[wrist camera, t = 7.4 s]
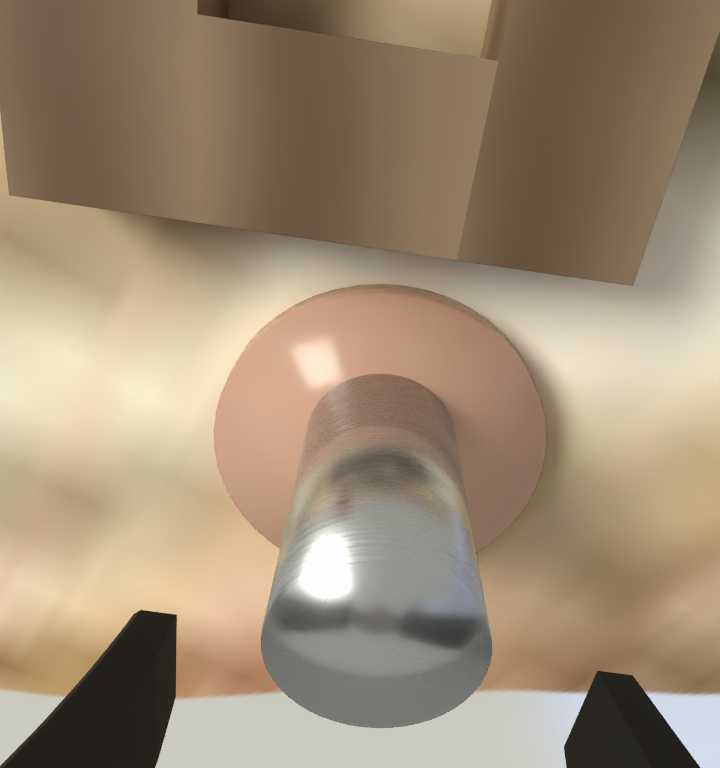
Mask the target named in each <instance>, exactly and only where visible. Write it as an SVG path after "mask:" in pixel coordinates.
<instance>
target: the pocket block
mask: <svg viewBox="0 0 720 768" xmlns="http://www.w3.org/2000/svg"><path fill="white" fill-rule="evenodd" d="M719 32H720V0H492V5H491V10H490V15H489V20H488V25H487V30H486V35H485V40H484V45H483V50H482V56H481V58H476V57H470V56H463V55H457V54H450V53H444V52H437V51H431V50H424V49H418V48H411V47H405V46H399V45H392V44H386V43H379V42H373V41H366V40H360V39H353V38H347V37H341V36H334V35H328V34H321V33H315V32H308V31H302V30H295V29H289V28H282V27H276V26H270V25H263V24H257V23H250V22H244V21H237V20H231V19H228V0H0V112H1V121H2V131H3V141H4V150H5V160H6V170H7V179H8V189H9V195H11V196H18V197H25V198H32V199H39V200H45V201H52V202H59V203H66V204H73V205H80V206H87V207H94V208H100V209H107V210H114V211H121V212H128V213H135V214H142V215H148V216H155V217H162V218H169V219H176V220H183V221H190V222H197V223H203V224H210V225H217V226H224V227H231V228H238V229H245V230H252V231H258V232H265V233H272V234H279V235H286V236H293V237H300V238H307V239H313V240H320V241H327V242H334V243H341V244H348V245H355V246H361V247H368V248H375V249H382V250H389V251H396V252H403V253H410V254H416V255H423V256H430V257H437V258H444V259H451V260H458V261H465V262H471V263H478V264H485V265H492V266H499V267H506V268H513V269H520V270H526V271H533V272H540V273H547V274H554V275H561V276H568V277H574V278H581V279H588V280H595V281H602V282H609V283H616V284H623V285H629V286H633V284H634V281H635V278H636V275H637V272H638V269H639V266H640V264H641V261H642V258H643V255H644V252H645V249H646V246H647V243H648V240H649V237H650V234H651V231H652V228H653V225H654V222H655V220H656V217H657V214H658V211H659V208H660V205H661V202H662V199H663V196H664V193H665V190H666V187H667V184H668V181H669V178H670V176H671V173H672V170H673V167H674V164H675V161H676V158H677V155H678V152H679V149H680V146H681V143H682V140H683V137H684V134H685V132H686V129H687V126H688V123H689V120H690V117H691V114H692V111H693V108H694V105H695V102H696V99H697V96H698V93H699V91H700V88H701V85H702V82H703V79H704V76H705V73H706V70H707V67H708V64H709V61H710V58H711V55H712V52H713V49H714V47H715V44H716V41H717V38H718V35H719Z"/></svg>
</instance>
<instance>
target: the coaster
mask: <svg viewBox="0 0 720 768" xmlns="http://www.w3.org/2000/svg"><path fill="white" fill-rule="evenodd" d="M368 374H392V375H398V376H402V377H405V378H409V379H411V380H413V381H416V382H418V383H420V384H422V385H423V386H425V387H427V388H428V389H429V390H430V391H432V392H433V393H434V394H435V395H436V396H437V397H438V398H439V399H440V400H441V401H442V402H443V404H444V405H445V407H446V408H447V410H448V412H449V414H450V416H451V418H452V421H453V424H454V430H455V436H456V441H457V447H458V453H459V458H460V464H461V470H462V475H463V481H464V487H465V492H466V498H467V504H468V509H469V515H470V521H471V526H472V532H473V538H474V544H475V549H476V552H478V551H480V550H481V549H483V548H485V547H486V546H487V545H489V544H490V543H491V542H493V541H494V540H495V539H496V538H498V537H499V536H500V535H501V534H502V533H503V532H504V531H505V530H506V529H507V528H508V527H509V526H510V525H511V524H512V523H513V522H514V521H515V520H516V518H517V517H518V516H519V515H520V513H521V512H522V511H523V509H524V508H525V507H526V505H527V503H528V501H529V500H530V498H531V496H532V494H533V493H534V491H535V488H536V486H537V483H538V481H539V478H540V476H541V472H542V468H543V464H544V460H545V453H546V440H547V435H546V422H545V416H544V411H543V407H542V403H541V399H540V397H539V394H538V392H537V390H536V387H535V385H534V382H533V380H532V378H531V376H530V373H529V371H528V369H527V367H526V365H525V364H524V362H523V360H522V359H521V357H520V355H519V354H518V352H517V351H516V349H515V348H514V347H513V346H512V345H511V343H510V342H509V341H508V340H507V338H506V337H505V336H504V335H503V334H502V333H501V332H500V331H499V330H498V329H497V328H495V327H494V326H493V325H492V324H491V323H490V322H489V321H488V320H486V319H485V318H483V317H482V316H480V315H479V314H477V313H476V312H474V311H473V310H472V309H470V308H468V307H466V306H464V305H462V304H460V303H458V302H456V301H454V300H452V299H450V298H448V297H445V296H442V295H439V294H436V293H433V292H430V291H427V290H422V289H417V288H412V287H408V286H399V285H386V284H376V285H358V286H352V287H346V288H341V289H335V290H332V291H329V292H326V293H323V294H319V295H316V296H313V297H311V298H309V299H307V300H305V301H303V302H300V303H298V304H296V305H294V306H292V307H291V308H289V309H288V310H286V311H285V312H283V313H281V314H280V315H278V316H277V317H275V318H274V319H273V320H272V321H271V322H269V323H268V324H267V325H266V326H265V327H264V328H262V329H261V330H260V331H259V332H258V333H257V335H256V336H255V337H254V338H253V339H252V340H251V341H250V342H249V344H248V345H247V346H246V347H245V349H244V350H243V352H242V354H241V355H240V357H239V358H238V360H237V361H236V363H235V365H234V367H233V369H232V371H231V373H230V375H229V377H228V379H227V382H226V384H225V386H224V388H223V390H222V393H221V396H220V400H219V403H218V407H217V410H216V417H215V425H214V447H215V453H216V459H217V464H218V468H219V471H220V474H221V477H222V480H223V483H224V485H225V487H226V489H227V491H228V493H229V495H230V497H231V499H232V500H233V502H234V503H235V505H236V506H237V508H238V509H239V511H240V512H241V513H242V515H243V516H244V517H245V518H246V519H247V520H248V522H249V523H250V524H251V525H252V526H253V527H254V528H255V529H256V530H257V531H258V532H259V533H260V534H262V535H263V536H264V537H265V538H266V539H267V540H268V541H270V542H271V543H273V544H274V545H276V546H277V547H279V548H281V543H282V539H283V534H284V530H285V525H286V521H287V516H288V512H289V507H290V503H291V498H292V494H293V489H294V485H295V480H296V476H297V471H298V467H299V462H300V458H301V453H302V449H303V444H304V440H305V435H306V431H307V426H308V422H309V419H310V416H311V414H312V412H313V410H314V408H315V407H316V405H317V404H318V402H319V401H320V400H321V399H322V398H323V397H324V395H325V394H326V393H328V392H329V391H330V390H331V389H333V388H334V387H336V386H337V385H339V384H341V383H343V382H345V381H347V380H349V379H352V378H355V377H358V376H363V375H368Z"/></svg>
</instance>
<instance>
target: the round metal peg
mask: <svg viewBox="0 0 720 768" xmlns="http://www.w3.org/2000/svg"><path fill="white" fill-rule="evenodd" d="M261 651H262V656H263V660H264V663H265V665H266V668H267V670H268V672H269V674H270V675H271V677H272V679H273V680H274V682H275V683H276V684H277V685H278V687H279V688H280V689H281V690H282V691H283V692H284V693H285V694H286V695H287V696H288V697H289V698H291V699H292V700H293V701H295V702H296V703H298V704H299V705H300V706H302V707H304V708H305V709H307V710H309V711H310V712H313V713H315V714H317V715H319V716H321V717H324V718H327V719H329V720H333V721H335V722H339V723H343V724H347V725H353V726H360V727H370V728H392V727H402V726H408V725H413V724H418V723H421V722H424V721H428V720H431V719H433V718H436V717H438V716H441V715H443V714H445V713H447V712H449V711H450V710H452V709H454V708H455V707H457V706H458V705H460V704H461V703H463V702H464V701H465V700H466V699H467V698H468V697H469V696H471V695H472V694H473V693H474V692H475V690H476V689H477V688H478V687H479V685H480V684H481V682H482V681H483V679H484V677H485V676H486V674H487V671H488V668H489V666H490V662H491V656H492V640H491V634H490V629H489V623H488V617H487V612H486V606H485V600H484V595H483V589H482V583H481V578H480V572H479V566H478V561H477V555H476V549H475V544H474V538H473V532H472V526H471V521H470V515H469V509H468V504H467V498H466V492H465V487H464V481H463V475H462V470H461V464H460V458H459V453H458V447H457V441H456V436H455V430H454V424H453V421H452V418H451V416H450V414H449V412H448V410H447V408H446V407H445V405H444V404H443V402H442V401H441V400H440V399H439V398H438V397H437V396H436V395H435V394H434V393H433V392H432V391H430V390H429V389H428V388H427V387H425V386H423V385H422V384H420V383H418V382H416V381H413V380H411V379H409V378H405V377H402V376H398V375H392V374H368V375H363V376H358V377H355V378H352V379H349V380H347V381H345V382H343V383H341V384H339V385H337V386H336V387H334V388H333V389H331V390H330V391H329V392H328V393H326V394H325V395H324V397H323V398H322V399H321V400H320V401H319V402H318V404H317V405H316V407H315V408H314V410H313V412H312V414H311V416H310V419H309V422H308V426H307V431H306V435H305V440H304V444H303V449H302V453H301V458H300V462H299V467H298V471H297V476H296V480H295V485H294V489H293V494H292V498H291V503H290V507H289V512H288V516H287V521H286V525H285V530H284V534H283V539H282V543H281V548H280V552H279V557H278V561H277V566H276V570H275V575H274V579H273V584H272V588H271V592H270V597H269V601H268V606H267V610H266V615H265V619H264V624H263V629H262V635H261Z"/></svg>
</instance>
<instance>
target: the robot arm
mask: <svg viewBox="0 0 720 768" xmlns="http://www.w3.org/2000/svg"><path fill="white" fill-rule="evenodd" d="M176 625H177V615H174V614H166V613H158V612H151V611H143V610H140V611H138V612H137V613H135V614H134V615H133V616H132V618H131V619H130V620H129V622H128V623H127V624H126V625H125V627H124V628H123V629H122V631H121V632H120V633H119V634H118V636H117V637H116V638H115V640H114V641H113V642H112V643H111V645H110V646H109V647H108V648H107V650H106V651H105V652H104V653H103V654H102V656H101V657H100V658H99V659H98V660H97V662H96V663H95V664H94V665H93V666H92V668H91V669H90V670H89V671H88V672H87V673H86V675H85V676H84V677H83V678H82V679H81V680H80V682H79V683H78V684H77V685H76V686H75V687H74V688H73V689H72V691H71V692H70V693H69V694H68V695H67V696H66V697H65V698H64V699H63V701H62V702H61V703H60V704H59V705H58V706H57V707H56V708H55V710H54V711H53V712H52V713H51V714H50V715H49V716H48V717H47V719H45V721H44V722H43V723H42V724H41V725H40V726H39V727H38V728H37V729H36V730H35V731H34V732H33V733H32V734H31V735H30V736H29V737H28V738H27V739H26V740H25V741H24V742H23V743H22V744H21V745H20V746H19V747H18V749H16V751H15V752H14V753H13V754H12V755H11V756H10V757H9V758H8V759H7V760H6V761H5V762H4V763H3V764H2V765H1V766H0V768H155V766H156V763H157V761H158V757H159V754H160V750H161V747H162V743H163V740H164V736H165V733H166V729H167V726H168V722H169V719H170V715H171V711H172V707H173V704H174V700H175V697H176ZM564 750H565V758H566V765H567V768H700V767H699V765H698V764H697V763H696V761H695V760H694V759H693V757H692V756H691V755H690V753H689V752H688V750H687V749H686V748H685V746H684V745H683V744H682V743H681V741H680V740H679V738H678V737H677V735H676V734H675V733H674V731H673V730H672V729H671V727H670V726H669V725H668V723H667V722H666V720H665V719H664V718H663V716H662V715H661V714H660V712H659V711H658V709H657V708H656V707H655V705H654V704H653V703H652V701H651V700H650V698H649V697H648V696H647V694H646V693H645V692H644V690H643V689H642V687H641V686H640V685H639V683H638V682H637V681H636V679H635V678H634V677H633V675H625V674H617V673H610V672H602V671H597V673H596V675H595V678H594V680H593V682H592V684H591V687H590V689H589V691H588V694H587V696H586V698H585V700H584V703H583V705H582V707H581V710H580V712H579V715H578V716H577V719H576V721H575V723H574V725H573V728H572V730H571V732H570V735H569V737H568V739H567V741H566V744H565V746H564Z"/></svg>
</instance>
